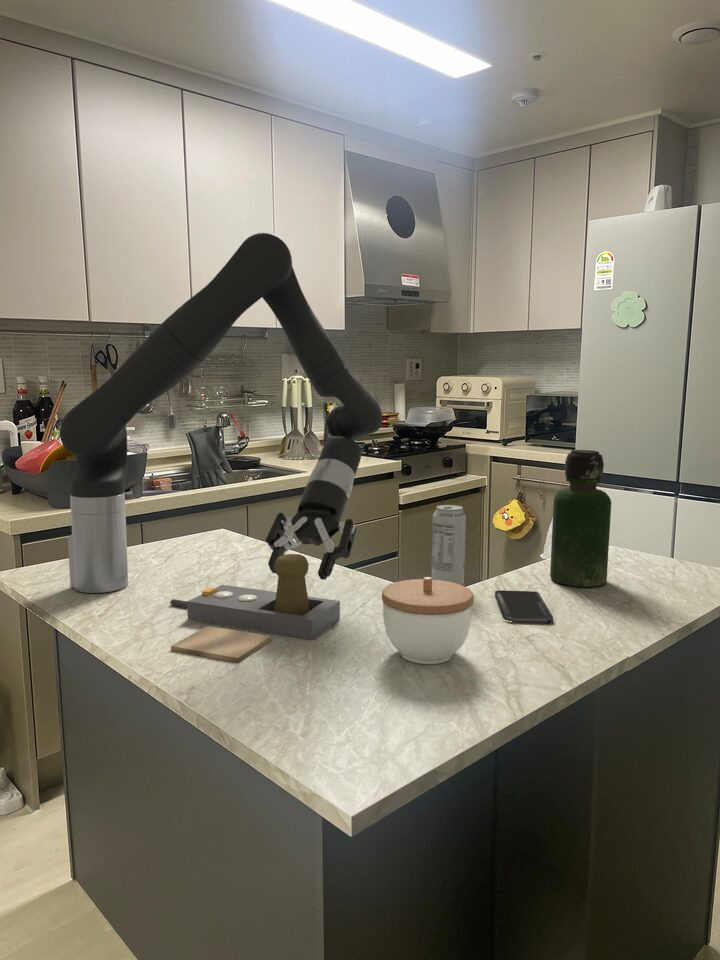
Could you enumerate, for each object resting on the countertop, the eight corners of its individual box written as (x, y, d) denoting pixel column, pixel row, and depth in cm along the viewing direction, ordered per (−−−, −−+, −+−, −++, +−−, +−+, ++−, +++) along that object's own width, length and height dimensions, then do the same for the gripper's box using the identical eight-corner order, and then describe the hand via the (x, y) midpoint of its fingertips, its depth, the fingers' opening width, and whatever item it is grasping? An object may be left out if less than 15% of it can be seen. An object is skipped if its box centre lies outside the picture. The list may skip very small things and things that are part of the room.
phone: (504, 618, 113) (494, 590, 127) (504, 624, 113) (493, 596, 128) (555, 619, 112) (538, 591, 127) (554, 626, 112) (538, 597, 127)
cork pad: (171, 649, 100) (170, 645, 100) (207, 629, 108) (207, 625, 108) (238, 662, 96) (238, 658, 96) (271, 640, 104) (271, 636, 104)
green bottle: (539, 579, 137) (545, 450, 133) (568, 570, 144) (575, 447, 140) (588, 592, 129) (596, 455, 126) (616, 581, 136) (624, 452, 133)
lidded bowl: (381, 637, 106) (382, 565, 104) (466, 638, 105) (468, 566, 104) (380, 671, 93) (382, 590, 92) (477, 673, 93) (480, 592, 91)
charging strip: (151, 613, 115) (151, 592, 115) (188, 596, 124) (188, 576, 124) (312, 639, 104) (312, 616, 104) (339, 618, 114) (339, 597, 113)
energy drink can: (470, 587, 131) (473, 508, 129) (446, 593, 128) (448, 511, 126) (448, 580, 136) (450, 503, 134) (424, 585, 133) (426, 506, 130)
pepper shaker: (295, 633, 107) (295, 562, 106) (264, 625, 110) (263, 556, 109) (318, 621, 112) (318, 554, 111) (288, 614, 115) (288, 548, 114)
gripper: (283, 475, 120) (248, 557, 112) (360, 480, 115) (331, 566, 106) (297, 501, 126) (266, 581, 117) (372, 507, 121) (345, 591, 112)
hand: (297, 574), depth 112 cm, fingers open, 8 cm apart
